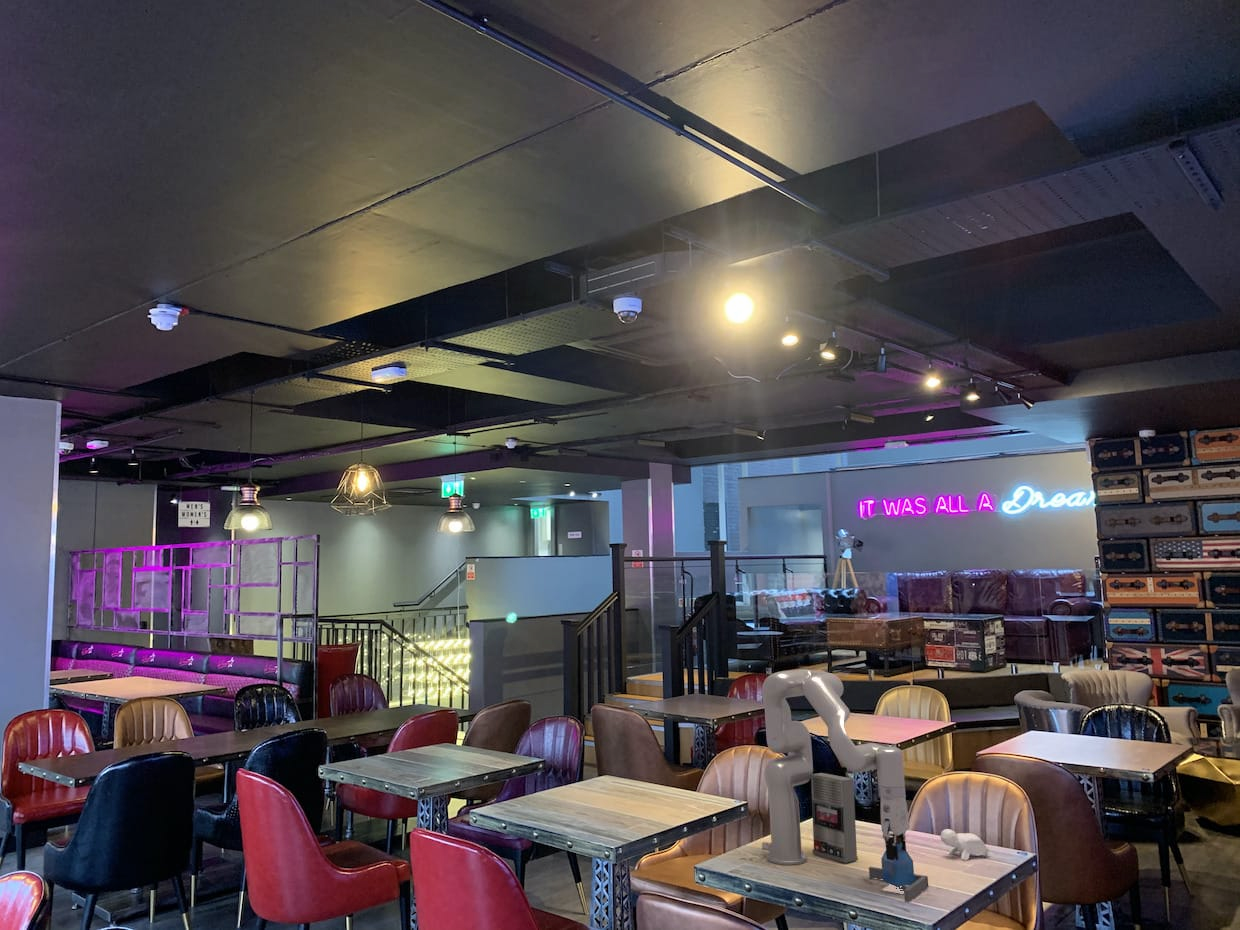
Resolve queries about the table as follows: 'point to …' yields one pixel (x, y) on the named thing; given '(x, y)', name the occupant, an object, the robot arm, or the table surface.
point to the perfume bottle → (898, 867)
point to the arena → (909, 891)
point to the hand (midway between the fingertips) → (896, 856)
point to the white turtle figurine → (964, 844)
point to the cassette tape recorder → (834, 817)
